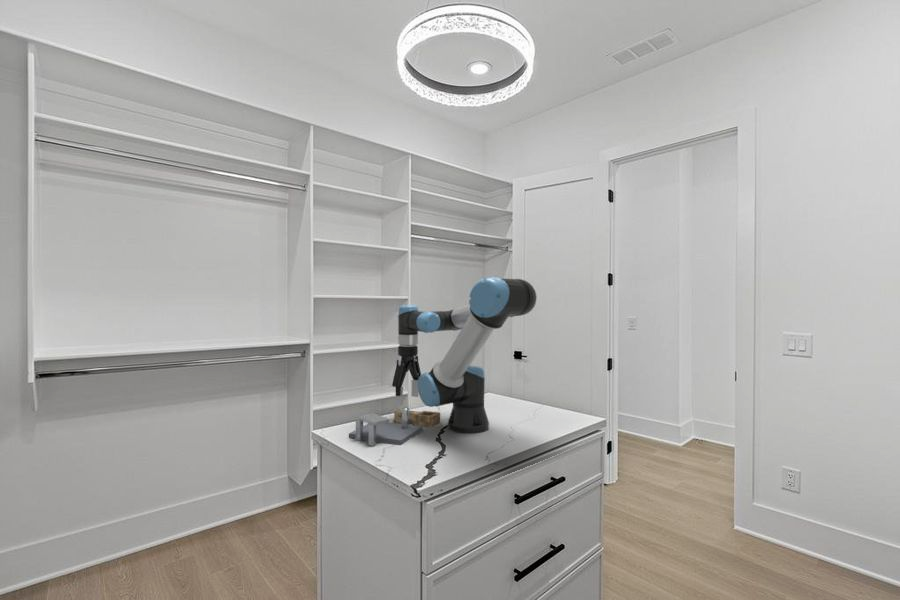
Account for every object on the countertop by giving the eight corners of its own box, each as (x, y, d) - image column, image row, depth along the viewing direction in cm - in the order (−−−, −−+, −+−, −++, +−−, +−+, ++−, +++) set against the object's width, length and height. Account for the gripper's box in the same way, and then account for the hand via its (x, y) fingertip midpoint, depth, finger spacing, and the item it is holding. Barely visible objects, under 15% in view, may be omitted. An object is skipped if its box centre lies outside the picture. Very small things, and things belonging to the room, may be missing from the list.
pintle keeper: (409, 431, 158) (409, 407, 158) (383, 447, 141) (383, 421, 141) (378, 427, 163) (378, 404, 163) (349, 443, 146) (349, 417, 146)
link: (440, 422, 170) (440, 412, 170) (432, 427, 163) (432, 416, 163) (400, 418, 176) (400, 408, 176) (392, 423, 169) (392, 412, 169)
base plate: (422, 430, 160) (422, 426, 160) (401, 444, 144) (401, 440, 144) (374, 424, 167) (374, 420, 167) (348, 437, 151) (348, 433, 151)
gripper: (413, 341, 184) (412, 392, 184) (383, 348, 161) (382, 406, 161) (429, 342, 181) (429, 394, 181) (401, 349, 158) (401, 408, 158)
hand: (407, 400), depth 171 cm, fingers open, 13 cm apart
